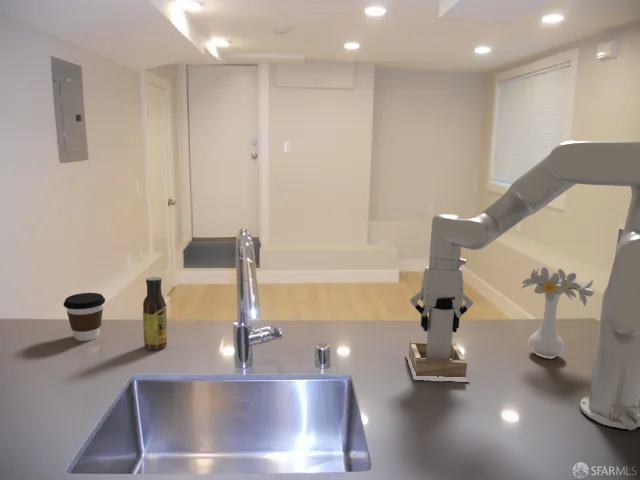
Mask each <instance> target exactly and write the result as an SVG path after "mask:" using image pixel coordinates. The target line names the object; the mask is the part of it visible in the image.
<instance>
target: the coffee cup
mask: <svg viewBox="0 0 640 480" xmlns="http://www.w3.org/2000/svg"><path fill="white" fill-rule="evenodd" d="M105 302H106V298H105V297H104V296H103V295H102V293H98V292H81V293H76V294H73V295H70V296H68V297H66V298H65V299H64V302H63V306H64V308H65V309H66V313H67V317H68V320H69V325H70V326H69V327H70V329H71V330H72V335H73V337H74V338H75V340H76V341H78V342H89V341H92V340H94V339H95V338H96V339H97V338H99V335H100V332H101V331H100V330H101V326H102V319H103V311H104V310H103V309H104V307H103V305H104V304H105Z"/></svg>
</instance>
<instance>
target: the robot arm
mask: <svg viewBox="0 0 640 480" xmlns="http://www.w3.org/2000/svg"><path fill="white" fill-rule="evenodd" d="M576 184H577V185H590V186H614V187H616V186H617V187H618V186H619V187H630V189H631V198H630V202H629V207H628V212H627V217H626V219H625V224H624V227H623V230H622V231H623V232H622V234H621V237H620V239H619V242H618V243H617V245H616V247H615V255H614V258H613V259H614V260H613V264H612V267H611V271H610V275H609V279H608V283H607V285H606V288H605V290H604V292H603V295H602V299H601V300H602V302H601V310H600V319H599V325H598V326H599V327H598V332H597V336H596V337H597V338H596V343H595V344H596V345H595V350H594V351H595V352H594V357H593V358H594V359H593V365H592V371H591V372H592V373H591V378H590V384H589V392H588V396H586V397H582V399H581V400H580V401H581V402H579V407H580V406H581V408H582V409H583V410H584V411H586V412H587V413H589V414H590V415H592V416H594V415H593V414H591V413H590V412H594V413H596V414H598V415H600V416H602V417H605V418H608V419H609V420H610V421H611V422H619V423H622V424H623V425H624V426H625V427H626V428H627V429H628V431H634V430H636V429H635V427H636V426H640V418H638V417H640V414H639V412H640V407H639V402H640V141H581V140H580V141H579V140H578V141H577V140H568V141H563V142H561V143H558V145H556V146H555V147H554V148H553V149H552V150H551V151H550V153H549V154H548V155H547V156H546V157H544V158H543V159H542V160H540V161H539V162H538V163H536V164H535V165H534V166H532V168H530V169H529V170H528V171H527V172H525V173H523V174H522V175H521V176H519V177H518V178H517V179H516V180H515V181H514V182H513V183H512V184H511V185H510V186H509V187H508V190H507V191H506V192H505V193H504V194H503V195H502V196H501V197H499V198H498V199H497V200H496V201H495V202H493V203H492V204H491V205H489V206H488V207H487V208H485V209H484V210H483V211H482V212H480V213H479V214H477V215H475V216H473V217H471V218H462V217H461V216H460V215H457V214H452V213H451V214H450V213H439V214H436V215H434V216H433V217H432V219H431V230H430V231H431V232H430V245H429V246H430V247H429V259H428V260H429V261H428V262H429V263H428V265H427V266H425V268H424V271H423V272H424V273H423V276H422V281H421V287H420V291H419V292H417V293H416V294H415V295H414V296H412V297H411V298H410V299H409V301H410V303H411V305H412V306H413V308H415V309H416V311H417V312H418V313H419V314H420V315H421V316H420V327H421V328H422V330H423V331H424V333H425V332H427V333H428V320H429V310H430V309H431V307H435V306H436V305H435V304H436V301H437V299H448V298H453V297H455V300H453V299H452V303H453V305H452V307H453V308H454V320H453V332H452V333H457V332H458V331H457V329H459V327H460V318H462V315H464V314H465V313H466V312H467V311H468V310H469V309H470V308H471V307H472V306H473V305H474V301H472V299H470V298H469V296H468V295H466V293H464V277H463V270H462V268H461V266H464V265H466V264H467V261H466V258H465V259H464V258H461V252H462V248H464V249H467V250H473V251H478V250H482V249H484V248H486V247H487V246H489V244H491V243H492V242H495V240H497V239H498V238H500V236H502V235H504V234H505V233H506V232H508V231H509V230H510V229H512V228H513V227H514V226H516V225H517V224H519V223H520V222H522V221H523V220H524V219H526V218H527V217H529V216H532V215H534V214H536V213H537V212H539V211H540V210H541V209H544V208H545V207H546V206H547V205H548V204H550V203H551V202H553V201H554V200H555V199H557V198H558V197H560V196H562V194H564V193H565V192H566V191H567V192H568V190H570V189H571V188H572V187H573V186H575V185H576ZM419 301H421V302H422V306H421V305H420V303H418V302H419ZM463 301H464V302H465V303H464V302H463ZM586 398H588V399H586ZM587 401H588V402H587ZM582 402H585V403H586V404H583V403H582ZM594 417H595V416H594ZM633 429H634V430H633Z"/></svg>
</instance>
